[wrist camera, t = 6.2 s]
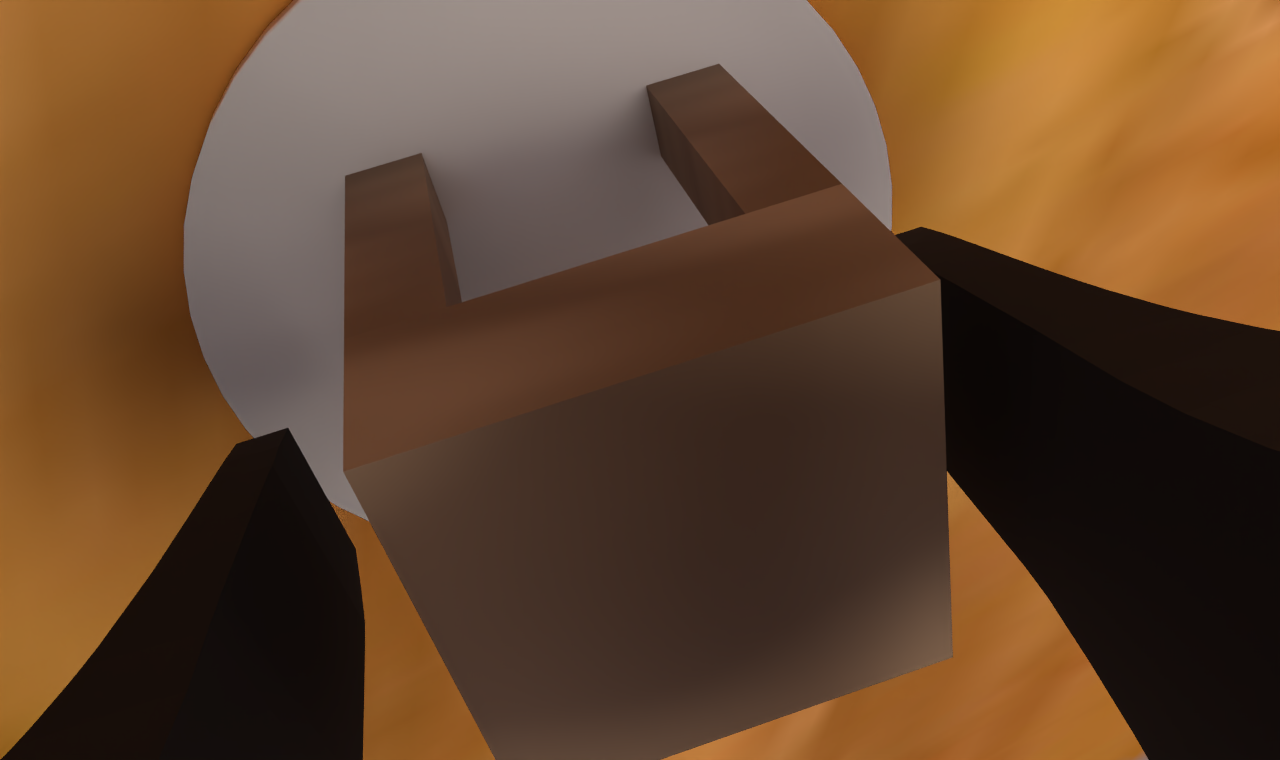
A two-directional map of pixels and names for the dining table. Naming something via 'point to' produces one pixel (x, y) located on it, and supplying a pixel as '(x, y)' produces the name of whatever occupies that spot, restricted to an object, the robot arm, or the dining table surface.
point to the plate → (469, 161)
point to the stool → (657, 449)
